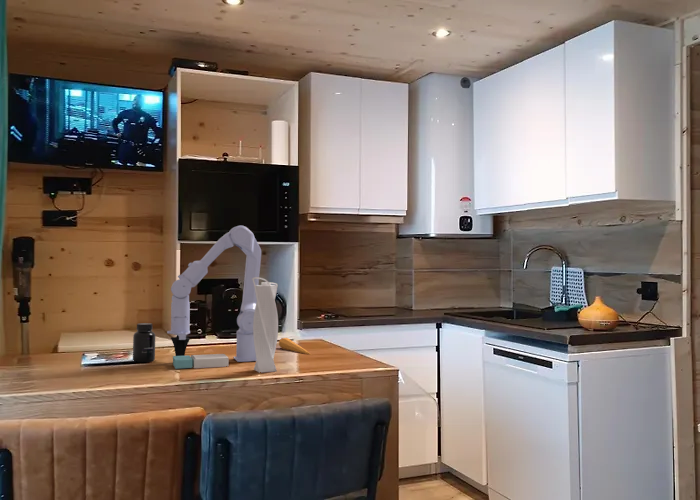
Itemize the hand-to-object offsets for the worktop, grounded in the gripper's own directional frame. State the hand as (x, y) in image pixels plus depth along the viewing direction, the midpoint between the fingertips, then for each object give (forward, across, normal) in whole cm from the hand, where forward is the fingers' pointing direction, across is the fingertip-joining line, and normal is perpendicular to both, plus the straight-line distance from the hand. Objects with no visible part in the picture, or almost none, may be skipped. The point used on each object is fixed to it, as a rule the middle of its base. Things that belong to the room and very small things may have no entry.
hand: (179, 359), depth 198 cm
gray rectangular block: (+1, +8, +8) cm, 11 cm away
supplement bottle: (+1, -6, -11) cm, 12 cm away
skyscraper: (+1, +22, +22) cm, 31 cm away
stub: (+1, +8, 0) cm, 8 cm away
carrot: (+1, -11, +41) cm, 43 cm away
